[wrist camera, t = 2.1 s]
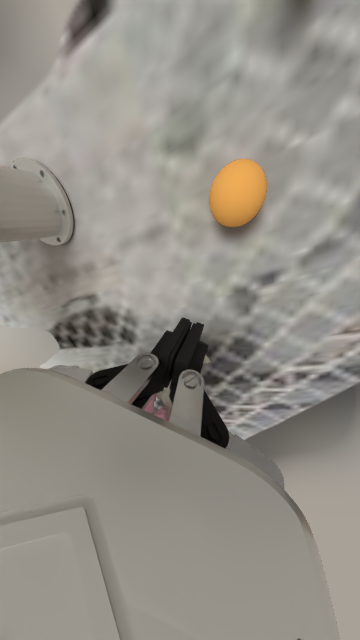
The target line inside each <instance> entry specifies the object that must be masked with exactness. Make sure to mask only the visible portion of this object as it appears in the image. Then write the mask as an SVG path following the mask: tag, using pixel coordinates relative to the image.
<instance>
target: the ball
mask: <svg viewBox="0 0 360 640" xmlns="http://www.w3.org/2000/svg"><path fill="white" fill-rule="evenodd" d="M266 192H267V181H266V176H265V173H264V171H263V169H262V168H261V167H260V166H259V165H258V164H257V163H256V162H254V161H252V160H249V159H239V160H235V161H233V162H231V163H229V164H228V165H226V166H225V167H224V168H223V169H222V170H221V171H220V172H219V173H218V175H217V176H216V178H215V180H214V182H213V184H212V187H211V191H210V198H209V202H210V209H211V212H212V214H213V216H214V218H215V219H216V220H217V221H218V222H219V223H220V224H222V225H224V226H227V227H238V226H241V225H244V224H246V223H247V222H249V221H250V220H252V219H253V218H254V217H255V216H256V214H257V213H258V212H259V210H260V209H261V207H262V205H263V203H264V200H265V197H266Z"/></svg>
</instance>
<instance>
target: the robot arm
mask: <svg viewBox="0 0 360 640" xmlns="http://www.w3.org/2000/svg"><path fill="white" fill-rule="evenodd" d="M72 232H73V215H72V210H71V206H70V203H69V201H68V198H67V196H66V194H65V192H64V190H63V188H62V186H61V185H60V183H59V182H58V180H57V179H56V177H55V176H54V175H53V174H52V173H51V172H50V171H49V170H48V169H47V168H46V167H45V166H43V165H42V164H40V163H38V162H37V161H33V160H30V159H26V158H20V159H17V160H15V161H14V162H13V163H12V165H11V166H10V167H5V166H0V243H2V242H11V241H20V240H29V239H39V240H41V241H42V242H44V243H46V244H49V245H53V246H57V245H62V244H65V243H66V242H68V241H69V239H70V238H71V235H72ZM189 321H190V320H189V319H186V318H182V319H181V320H180V322H179V323H178V325H177V327H176V328H175V330H174V331H173V332H170V331H168V330H167V331H166V332H165V333H164V335H163V336H162V338H161V339H160V341H159V342H158V343H157V345H156V346H155V348H154V349H153V350H152V352H151V353H142V354H140V355H138V356H137V357H136V358H135V359H134V360H133V361H132V362H130V363H129V364H126V365H122V366H118V367H114V368H110V369H105V370H101V371H98V372H95V373H93V372H92V371H91V370H86V369H80V368H74V367H69V366H63V365H58V366H54V367H52V368H50V369H40V368H21V369H14V370H11V371H7V372H5V373H2V374H0V640H340V636H339V632H338V627H337V622H336V618H335V613H334V609H333V605H332V601H331V597H330V593H329V588H328V585H327V580H326V576H325V572H324V569H323V565H322V561H321V558H320V555H319V551H318V548H317V545H316V542H315V539H314V537H313V534H312V531H311V529H310V526H309V524H308V522H307V520H306V518H305V516H304V514H303V513H302V511H301V510H300V508H299V507H298V506H297V504H296V503H295V502H294V501H293V499H292V498H291V497H290V496H289V495H288V493H287V492H286V491H285V490H284V478H283V476H282V473H281V471H280V469H279V468H278V466H277V465H276V464H275V463H274V462H273V461H272V460H271V459H269V458H268V457H267V456H265V455H264V454H262V453H261V452H260V451H258V450H257V449H255V448H254V447H253V446H251V445H250V444H248V443H247V442H246V441H244V440H243V439H241V438H240V437H239V436H237V435H236V434H235V435H233V434H231V433H230V432H229V431H228V430H227V427H226V426H225V424H224V422H223V421H222V419H221V417H220V416H219V414H218V412H217V411H216V409H215V407H214V406H213V404H212V402H211V401H210V399H209V397H208V396H207V394H206V393H205V391H204V379H203V377H202V375H201V374H200V372H201V368H202V365H203V362H204V358H205V355H206V352H207V348H208V345H207V344H204V343H202V342H199V340H200V337H201V334H202V330H203V327H204V324H201V323H198V322H197V323H196V324H195V323H193V325H192V327H191V324H192V322H189ZM190 328H191V329H190ZM170 381H171V384H170ZM169 384H170V388H169V389H170V394H169V397H170V400H171V402H172V408H171V412H170V416H169V421H166V420H164V419H162V418H159V417H157V416H155V415H153V414H151V413H149V412H146V411H144V409H145V408H146V407H147V405H148V404H149V402H150V401H151V400H152V398H153V397H154V395H155V394H156V393H159V392H160V391H162V392H163V390H164V388H168V386H169Z"/></svg>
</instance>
